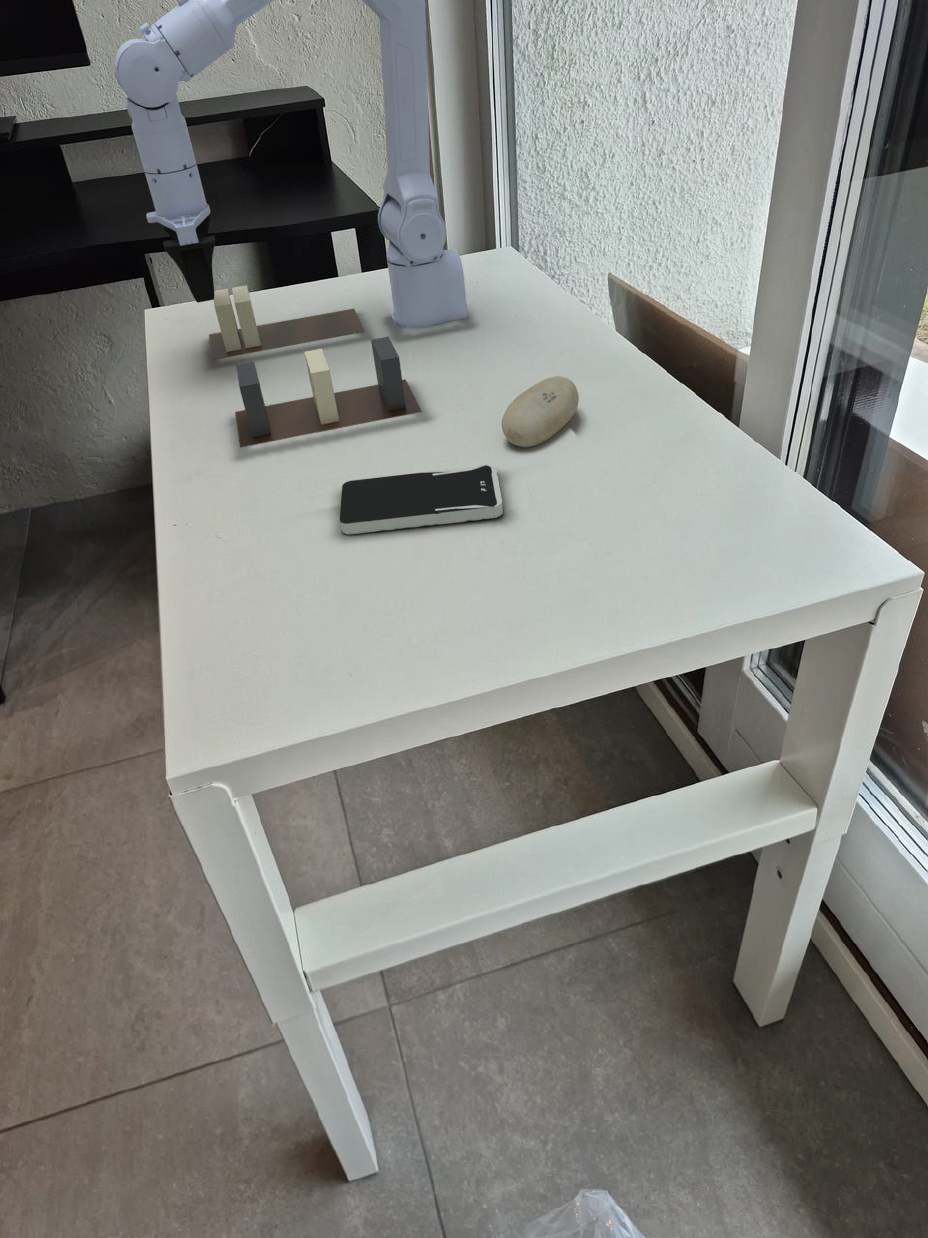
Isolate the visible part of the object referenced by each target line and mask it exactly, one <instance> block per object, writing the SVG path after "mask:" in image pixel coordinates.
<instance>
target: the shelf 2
mask: <svg viewBox="0 0 928 1238" xmlns="http://www.w3.org/2000/svg"><path fill="white" fill-rule="evenodd" d="M402 382H403V389H404V396H405V404H406V408H404V409H399V410H394V411H388V409H387V407H386V404H385V402H384V400H383V398H382V395H381V393H380V391H379V388H378V384H374V385H368V386H363V387H357V388H352V389H347V390H342V391H337V392H334V396H335V401H336V406H337V412H338V417H339V421H338V422H333V423H328V424H323V425H321V422H320V419H319V415H318V412H317V409H316V405H315V402H314V398H313V396H310V397H306V398H300V399H295V400H289V401H285V402H279V403H274V404H269V405H265V408H266V412H267V417H268V422H269V427H270V432H271V435H266V436H261V437H256V438H252V434H251V430H250V426H249V422H248V419H247V415H246V411H245V409H242V410H238V411H234V415H235V423H236V431H237V438H238V444H239V449H240V448H241V449H242V448H247V447H251V446H256V445H261V444H267V443H272V442H277V441H282V440H286V439H292V438H297V437H303V436H307V435H312V434H318V433H323V432H328V431H332V430H337V429H342V428H348V427H352V426H358V425H364V424H367V423H373V422H377V421H383V420H389V419H394V418H399V417H403V416H409V415H413V414H418V413H423V411H422V408H421V407H420V404H419V402H418V401H417V399H416V397H415V395H414V393H413V391H412V389H411V387H410V385H409V383H408V381H407V379H405V378H404V379H402Z"/></svg>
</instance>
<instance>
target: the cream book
mask: <svg viewBox="0 0 928 1238" xmlns="http://www.w3.org/2000/svg"><path fill="white" fill-rule="evenodd" d="M303 353H304V359H305V364H306V368H307V374H308V378H309V383H310V387H311V393H312V397H313V398H314V402H315V405H316V409H317V412H318V415H319V419H320V422H321V425H323V424H328V423H333V422H338V421H339V417H338V412H337V406H336V401H335V396H334V393H335V391H334V385H333V380H332V375H331V370H330V367H329V364H328V361H327V359H326V356H325V352H324V350H323V348H318V349H317V348H316V349H312V350H307V351H304V352H303Z"/></svg>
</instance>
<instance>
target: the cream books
mask: <svg viewBox="0 0 928 1238" xmlns="http://www.w3.org/2000/svg"><path fill="white" fill-rule="evenodd" d="M231 291H232V297H233V298H232V299H233V301H234V302H233V303H234V307H235V311H236V315H237V319H238V323H239V327H240V329H241V331H242V335H243V340H244V344H245V348H252V347H257V346H261V343H260V338H259V334H258V329H257V326H258V325H257V321H256V317H255V313H254V309H253V305H252V304H253V303H252V300H251V295H250V292H249V288H248V285H247V284H246V285H241V286H235V287H234V286H233V287H232V288H231ZM233 303H232V300H231V295H230V292H229V288H223V289H222V288H221V289H216V290H214V300H213V306H214V307H213V308H214V310H215V314H216V318H217V322H218V326H219V329H220V332H221V333H222V337H223V341H224V345H225V349H226V352H230V351H236V350H241V349H242V347H241V341H240V336H239V331H238V329H239V327H238V323H237V319H236V315H235V311H234V307H233Z"/></svg>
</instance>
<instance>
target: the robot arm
mask: <svg viewBox="0 0 928 1238" xmlns="http://www.w3.org/2000/svg"><path fill="white" fill-rule="evenodd" d="M274 1H275V0H176V2H177V3H178V4H177V5H176V6H174V7H173V8H172V9H171V10H169V11H168V12H167V13H166V14H164V15H163V16H162V17H160V18H159V19H158V20H156V21H155V22H154V23H152V24H151V25H149V23H148V22H145V23H143V24H142V25H140V27H139V31H140V33H141V35H143V37H144V38H145V39H144V38H131V39H129V40H127V41H125V42H124V43H122V44H121V45H120V47H119V48H118V49H117V51H116V55H115V57H114V78H115V80H116V82H117V84H118V85H119V88H120V89H121V90H122V91H123V92H124V94H125V95H126V96H127V97H126V98H125V100H126V109H127V114H128V116H129V117H130V119H131V121H132V123H131V131H132V133H133V137H134V140H135V144H136V147H137V148H136V149H137V151H138V154H139V159H140V161H141V165H142V168H143V171H144V175H145V178H146V182H147V185H148V189H149V192H150V196H151V199H152V203H153V207H154V210H155V211H150V212H146V220H147V223H149V224H155V223H158V224H160V225H162V228H163V230H164V231H165V232H166V233H167V234H168V235H169V237H170V238H171V239H168V240H164V241H163V243H162V244H163V247H164V250H165V252H166V253H167V255H168V256H169V257H170V258H171V259H172V260H173V262H174V263H175V264H176V265H177V267H178V269H179V271H180V272H181V275H182V276H183V279H184V280H185V282H186V284H187V287H188V289H189V291H190V293H191V296H192V297H193V298H194V300H195V302H196V303H197V304H198V303H203V302H209V301H214V291H215V283H214V282H215V281H214V273H213V272H214V271H213V257H214V250H215V245H216V237H215V235H210V236H209V227H210V222H211V217H210V214H211V209H210V205H209V204H208V203H207V200H206V196H205V192H204V188H203V184H202V179H201V176H200V172H199V168H198V164H197V159H196V157H195V153H194V149H193V145H192V140H191V137H190V133H189V129H188V125H187V121H186V118H185V116H184V115H183V114H182V111H181V107H180V103H179V99H178V95H177V93H178V89H179V82H185V83H187V82H189V81H190V80H192V79H193V78H195V77H196V76H197V75H198V74H200V73H201V72H202V71H204V70H205V69H206V68H207V67H209V66H210V65H212V64H213V63H214V62H216V61H217V60H219V59H220V57H221V58H222V56H223V55H225V54H226V53H228V52H229V51H230V50H231V49H233V48H235V42H236V32H237V28H238V26H239V25H241V24H242V23H244V22H245V21H247V20H248V19H249V18H251V17H252V16H254V15H255V14H257V13H258V12H259V11H260V10H263V9H264V8H265V7H267V6H268V5H269V4H270V3H272V2H274ZM362 2H363V3H364V4H365V5H366V6H367V7H368V8H369V9H370V10H371V11H372V12H373V13H374V14H375V15H376V16H377V17H378V20H379V37H380V54H381V55H380V57H381V72H382V73H381V74H382V88H383V89H382V90H383V109H384V110H383V111H384V127H385V128H384V130H385V131H384V132H385V149H386V164H387V165H386V166H387V168H386V169H387V173H386V176H385V178H384V181H383V197H382V202H381V204H380V207H379V210H378V213H377V224H378V228H379V230H380V232H381V234H382V235H383V237H384V238H385V239H386V240H388V241H389V243H388V249H387V251H386V254H385V255H386V256H385V257H386V263H387V270H388V277H389V284H390V291H391V298H392V307H393V313H391V314H390V316H391V318H392V320H393V322H394V324H395V325H396V327H397V329H399V330H400V329H404V328H405V329H406V328H410V329H421V328H429V327H433V326H436V325H437V326H438V325H439V324H442V323H447V322H452V321H457V320H463V319H467V318H468V307H467V296H466V282H465V274H464V267H463V264H462V259H461V257H460V254H459V252H458V250H457V249H453V248H452V249H443V248H444V246H445V244H446V241H447V226H446V222H445V221H444V219H443V216H442V215H441V213H440V209H439V196H438V192H437V190H436V187H435V185H434V181H433V178H432V176H431V164H430V163H431V162H430V157H431V156H430V125H429V90H428V89H429V87H428V85H429V84H428V83H429V82H428V53H427V52H428V50H427V49H428V48H427V15H426V13H427V12H426V0H362Z"/></svg>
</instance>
